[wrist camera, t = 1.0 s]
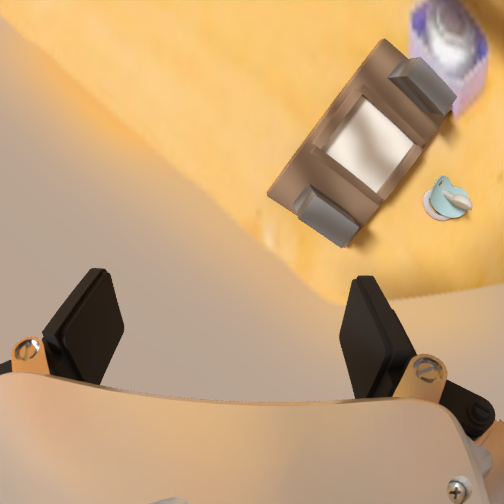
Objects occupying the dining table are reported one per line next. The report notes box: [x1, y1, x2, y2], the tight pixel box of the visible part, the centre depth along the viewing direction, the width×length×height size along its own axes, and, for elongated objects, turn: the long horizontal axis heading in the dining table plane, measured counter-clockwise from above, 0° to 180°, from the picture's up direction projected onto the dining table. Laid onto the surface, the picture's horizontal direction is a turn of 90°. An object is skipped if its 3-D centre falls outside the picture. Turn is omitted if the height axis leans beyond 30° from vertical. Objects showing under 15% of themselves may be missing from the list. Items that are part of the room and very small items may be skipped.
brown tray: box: [267, 39, 457, 248], centre depth 30 cm, size 24×12×6 cm, turn 147°
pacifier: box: [423, 176, 472, 221], centre depth 33 cm, size 7×6×6 cm
